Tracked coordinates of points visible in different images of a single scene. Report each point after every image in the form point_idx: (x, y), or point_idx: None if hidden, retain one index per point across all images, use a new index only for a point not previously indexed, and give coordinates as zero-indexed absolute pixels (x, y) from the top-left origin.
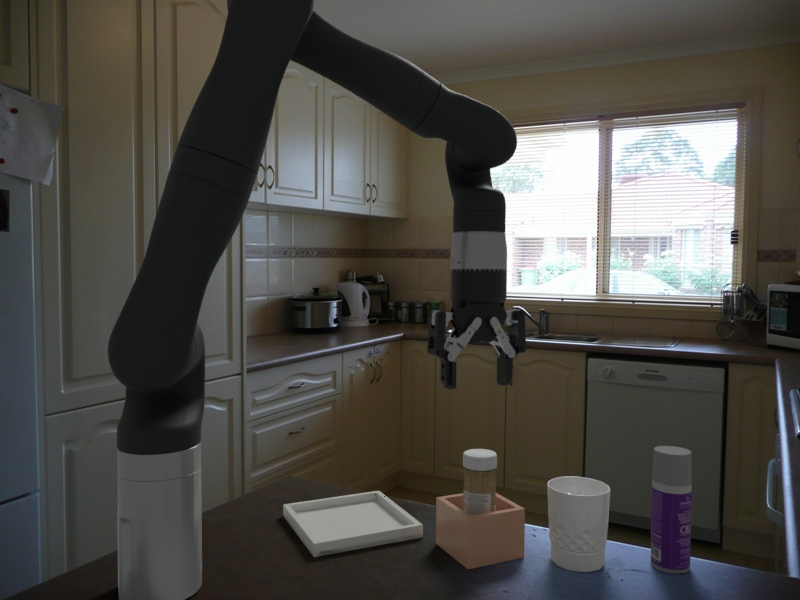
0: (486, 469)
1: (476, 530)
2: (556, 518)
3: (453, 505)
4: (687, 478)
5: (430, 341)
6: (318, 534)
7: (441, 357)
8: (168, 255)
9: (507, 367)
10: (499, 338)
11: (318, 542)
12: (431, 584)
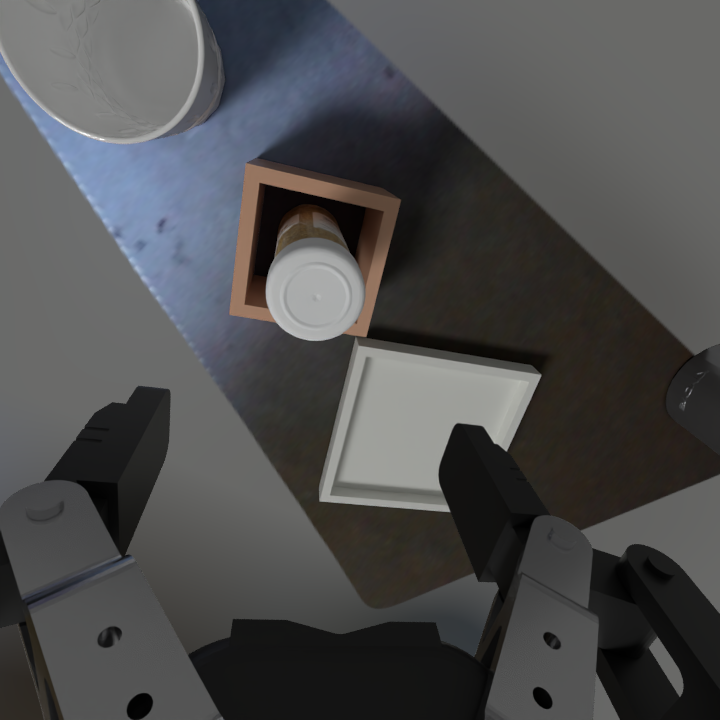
0: (332, 241)
1: (375, 191)
2: (215, 62)
3: (370, 280)
4: None
5: (668, 695)
6: (487, 418)
7: (602, 554)
8: None
9: (125, 442)
10: (166, 620)
11: (534, 375)
12: (468, 184)
